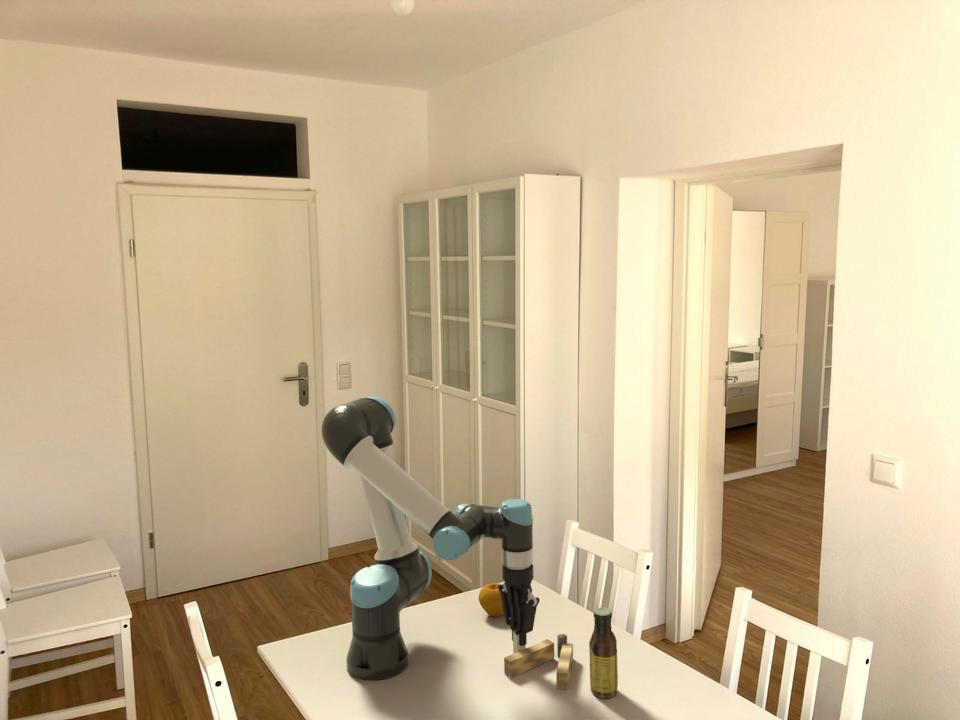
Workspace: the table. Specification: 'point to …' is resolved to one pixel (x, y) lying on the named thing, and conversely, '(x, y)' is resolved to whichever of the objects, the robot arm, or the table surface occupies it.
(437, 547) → the robot arm
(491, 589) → the apple
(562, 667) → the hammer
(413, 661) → the table surface
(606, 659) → the sauce bottle
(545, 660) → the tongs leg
